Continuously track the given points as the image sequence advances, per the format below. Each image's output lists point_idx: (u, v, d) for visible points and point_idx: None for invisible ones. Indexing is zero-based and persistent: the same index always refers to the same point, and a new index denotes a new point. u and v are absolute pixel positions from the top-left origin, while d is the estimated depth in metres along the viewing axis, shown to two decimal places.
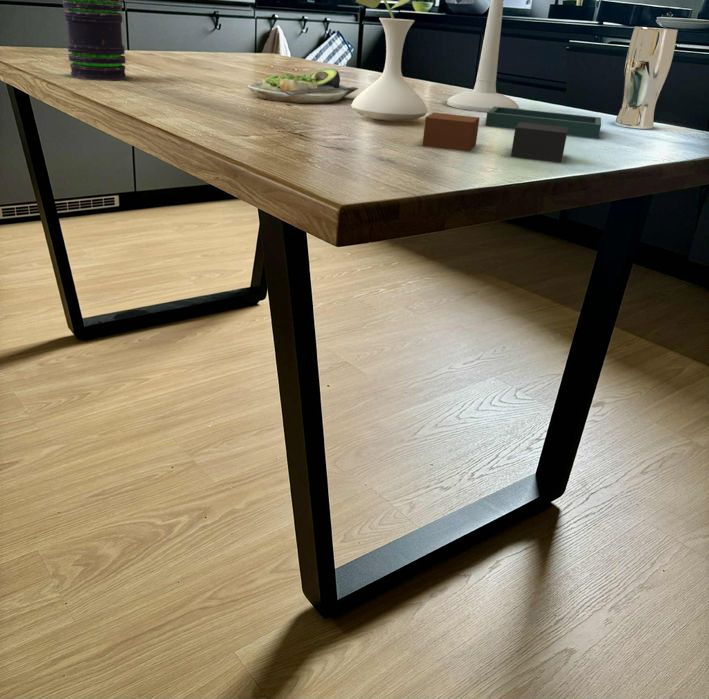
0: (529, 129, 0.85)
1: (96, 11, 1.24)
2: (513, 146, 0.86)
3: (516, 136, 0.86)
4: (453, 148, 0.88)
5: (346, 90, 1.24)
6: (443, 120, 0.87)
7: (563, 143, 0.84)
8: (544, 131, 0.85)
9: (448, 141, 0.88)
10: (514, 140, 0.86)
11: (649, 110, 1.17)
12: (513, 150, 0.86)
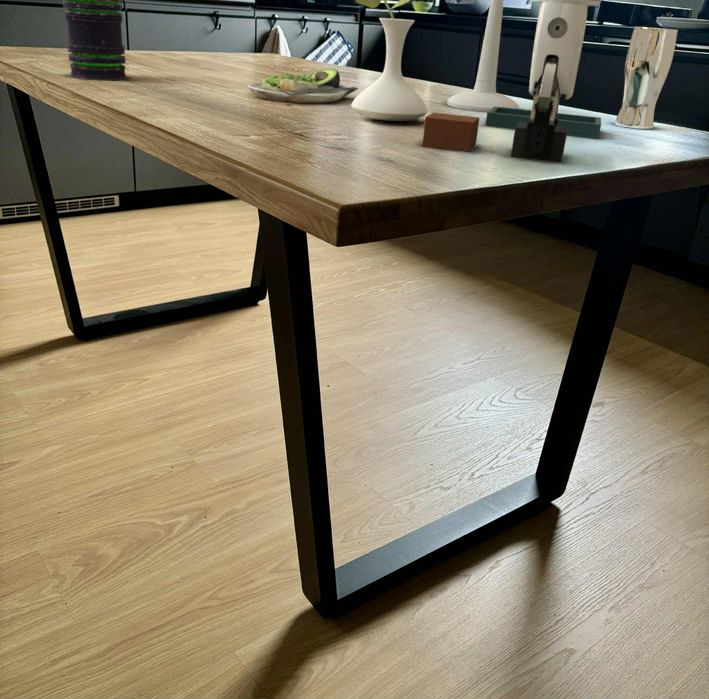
0: None
1: (96, 11, 1.24)
2: (513, 146, 0.86)
3: (516, 136, 0.86)
4: (453, 148, 0.88)
5: (346, 90, 1.24)
6: (443, 120, 0.87)
7: (563, 143, 0.84)
8: None
9: (448, 141, 0.88)
10: (514, 140, 0.86)
11: (649, 110, 1.16)
12: (513, 150, 0.86)
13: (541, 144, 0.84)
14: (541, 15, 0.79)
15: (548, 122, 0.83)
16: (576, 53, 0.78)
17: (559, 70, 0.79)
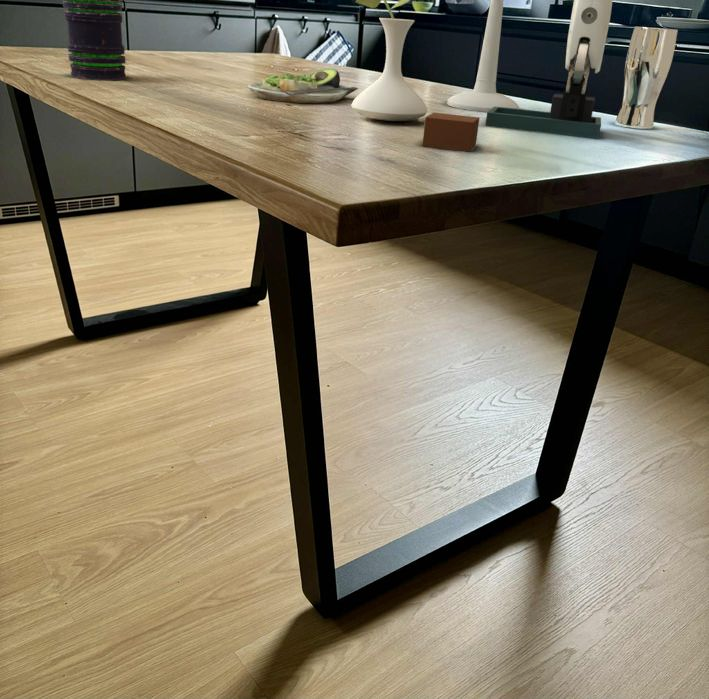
0: None
1: (96, 11, 1.24)
2: (551, 112, 1.07)
3: (553, 104, 1.06)
4: (453, 148, 0.88)
5: (346, 90, 1.24)
6: (443, 120, 0.87)
7: (592, 109, 1.05)
8: None
9: (448, 141, 0.88)
10: (552, 107, 1.06)
11: (649, 110, 1.16)
12: (551, 115, 1.07)
13: (575, 110, 1.04)
14: (576, 5, 0.99)
15: (581, 92, 1.03)
16: (604, 35, 0.99)
17: (590, 49, 0.99)
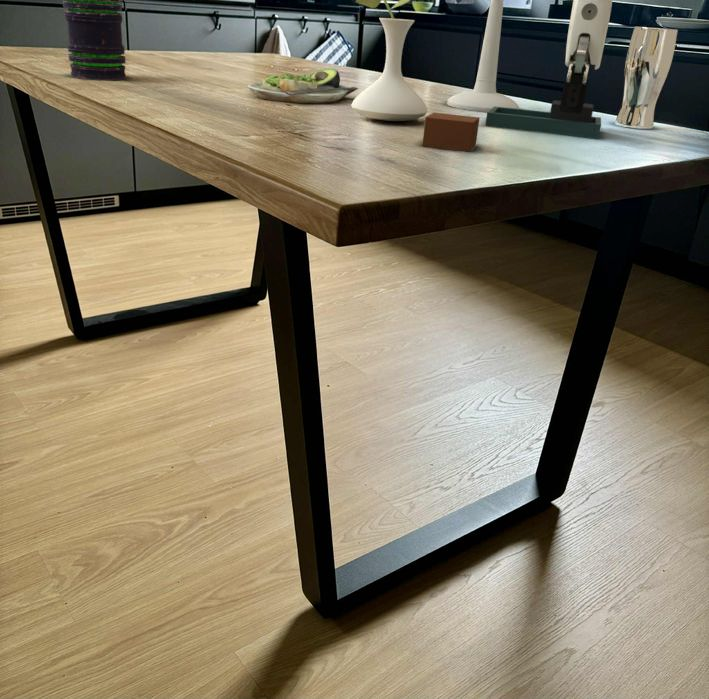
0: None
1: (96, 11, 1.24)
2: None
3: (552, 111, 1.06)
4: (453, 148, 0.88)
5: (346, 90, 1.24)
6: (443, 120, 0.87)
7: (590, 116, 1.05)
8: None
9: (448, 141, 0.88)
10: (550, 114, 1.07)
11: (649, 110, 1.16)
12: None
13: (575, 100, 1.02)
14: (576, 1, 0.99)
15: (582, 81, 1.01)
16: (604, 32, 0.99)
17: (590, 45, 0.99)
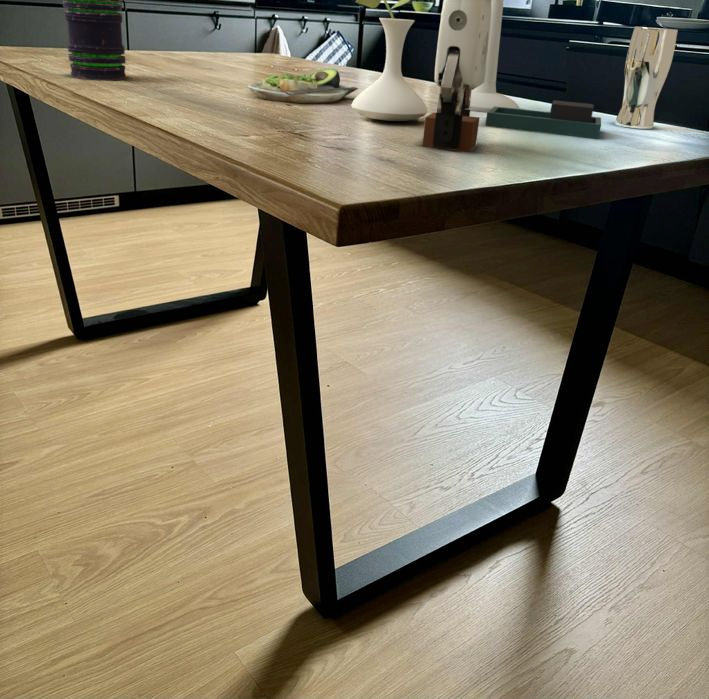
0: (563, 105, 1.06)
1: (96, 11, 1.24)
2: None
3: (552, 111, 1.06)
4: None
5: (346, 90, 1.24)
6: None
7: (590, 116, 1.05)
8: (575, 106, 1.05)
9: None
10: (550, 114, 1.07)
11: (649, 110, 1.16)
12: None
13: (449, 133, 0.87)
14: (443, 8, 0.81)
15: (454, 112, 0.85)
16: (476, 45, 0.81)
17: (461, 61, 0.82)
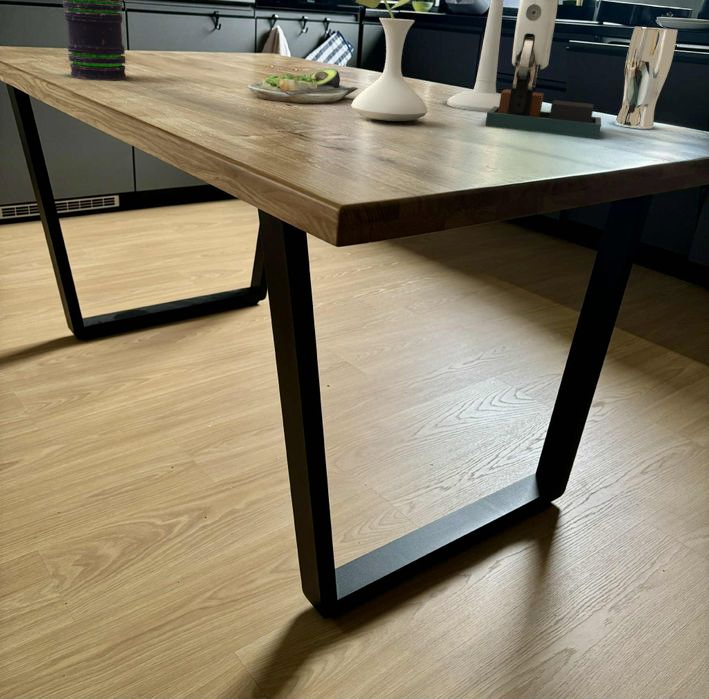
0: (563, 105, 1.06)
1: (96, 11, 1.24)
2: None
3: (552, 111, 1.06)
4: None
5: (346, 90, 1.24)
6: None
7: (590, 116, 1.05)
8: (575, 106, 1.05)
9: None
10: (550, 114, 1.07)
11: (649, 110, 1.16)
12: None
13: (522, 105, 1.06)
14: (521, 2, 1.01)
15: (527, 87, 1.05)
16: (548, 32, 1.01)
17: (535, 45, 1.01)
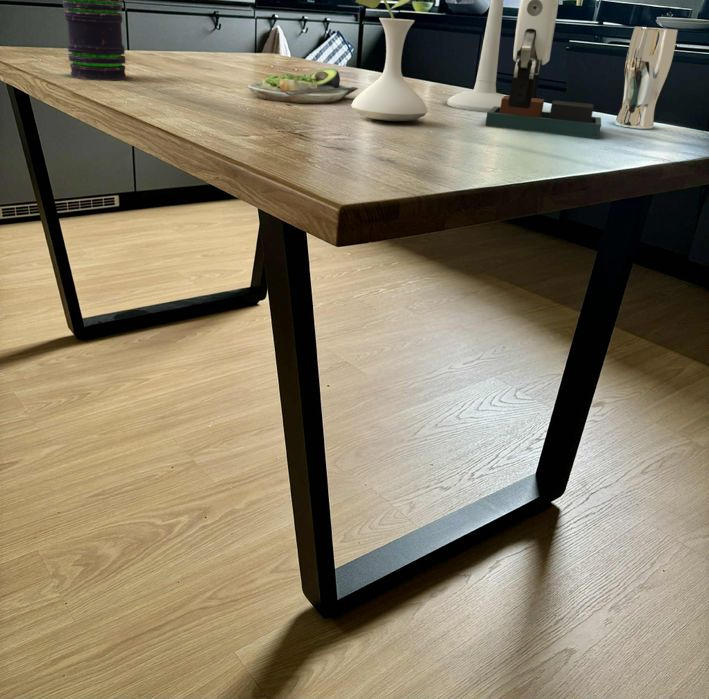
0: (563, 105, 1.06)
1: (96, 11, 1.24)
2: None
3: (552, 111, 1.06)
4: None
5: (346, 90, 1.24)
6: None
7: (590, 116, 1.05)
8: (575, 106, 1.05)
9: None
10: (550, 114, 1.07)
11: (649, 110, 1.16)
12: None
13: (523, 95, 1.04)
14: None
15: (528, 76, 1.02)
16: (549, 27, 1.00)
17: (536, 41, 1.01)
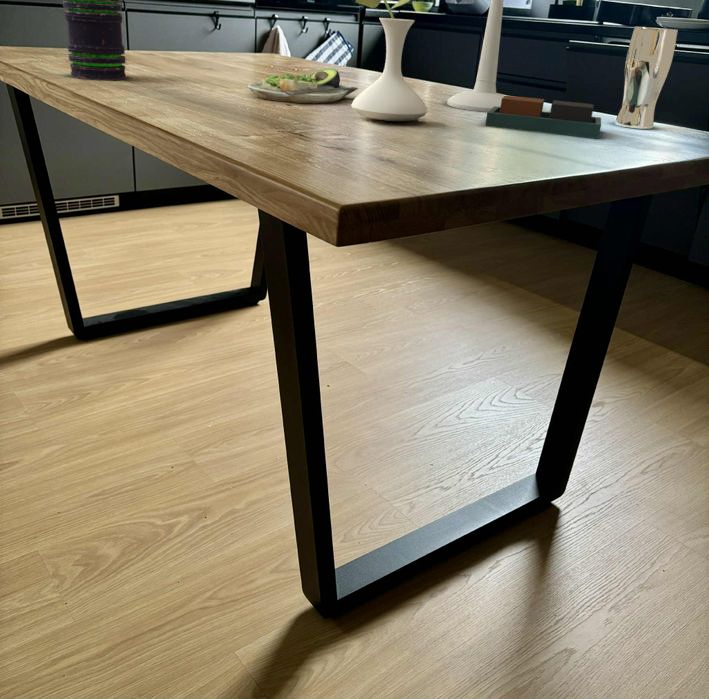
0: (563, 105, 1.06)
1: (96, 11, 1.24)
2: None
3: (552, 111, 1.06)
4: None
5: (346, 90, 1.24)
6: (516, 101, 1.07)
7: (590, 116, 1.05)
8: (575, 106, 1.05)
9: None
10: (550, 114, 1.07)
11: (649, 110, 1.16)
12: None
13: None
14: None
15: None
16: None
17: None
